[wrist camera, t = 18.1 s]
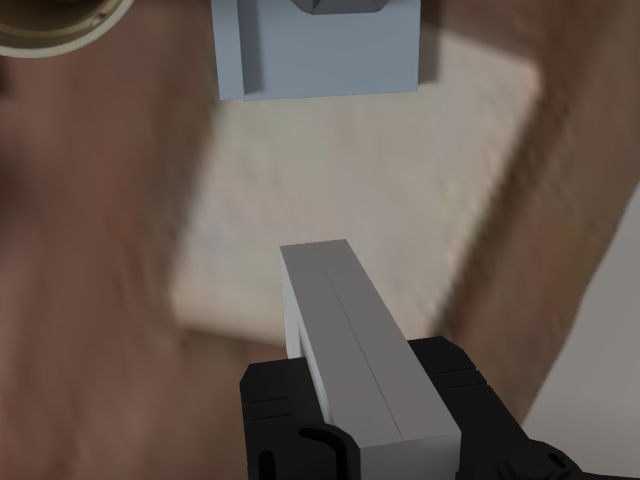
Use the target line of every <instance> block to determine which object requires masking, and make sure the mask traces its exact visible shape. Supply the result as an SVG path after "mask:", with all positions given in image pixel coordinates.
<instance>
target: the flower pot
mask: <svg viewBox="0 0 640 480" xmlns="http://www.w3.org/2000/svg"><path fill="white" fill-rule="evenodd" d="M134 1H135V0H0V55H3V56H10V57H20V58H43V57H50V56H56V55H60V54H64V53H65V54H66V53H68V52H71V51H74V50H77V49H80V48H82V47H84V46H86V45H88V44H90V43H92V42H94V41H95V40H97V39H99V38H100V37H102V36H103V35H104V34H106V33H107V32H108V31H110V30H111V29H112V28H113V27H114V26H115V25H116V24H117V23H118V22H119V21H120V20H121V19H122V18H123V17H124V15H125V14H126V13H127V12H128V11H129V9H130V8H131V6H132V5H133V3H134Z"/></svg>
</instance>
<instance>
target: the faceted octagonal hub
mask: <svg viewBox="0 0 640 480" xmlns="http://www.w3.org/2000/svg"><path fill="white" fill-rule="evenodd" d="M291 1H292V2H293V3H294V4H295V5H296V6H297V7H298V8H299V9H300V10H301V11H303V12H305V13H308V14H311V15H327V14H353V13H377V11H381V10H382V9H383V7H384V6H385V5H386V4H387V3H388V2H389V1H390V0H291Z"/></svg>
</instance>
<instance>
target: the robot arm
mask: <svg viewBox="0 0 640 480" xmlns="http://www.w3.org/2000/svg"><path fill="white" fill-rule="evenodd" d="M279 247H280V261H281V275H282V289H283V303H284V317H285V331H286V345H287V354H288V358H289V359H283V360H276V361H269V362H262V363H254V364H249V366H248V368H247V370H246V372H245V374H244V376H243V378H242V379H241V381H240V393H241V402H242V412H243V422H244V432H245V442H246V452H247V462H248V467H247V470H248V479H249V480H640V478H631V477H619V476H607V475H598V474H592V473H586V472H582V470H581V469H580V468H579V467H578V465H577V464H576V463H574V461H572V460H571V459H570V458H569V457H568V456H567V455H566V454H565V453H563V452H562V451H560V450H558V449H556V448H554V447H552V446H551V445H549V444H546V443H545V442H541V441H536V440H532V439H529V438H528V436H527V435H526V434H525V432H524V431H523V430H522V428H521V427H520V426H519V424H518V423H517V422H516V420H515V419H514V418H513V416H512V415H511V413H510V412H509V411H508V409H507V408H506V407H505V405H504V404H503V403H502V401H501V400H500V399H499V397H498V396H497V395H496V393H495V392H494V391H493V389H492V388H491V387H490V385H489V386H488V385H487V381H486V380H485V379H484V377H483V376H482V375H481V373H480V372H479V371H477V370H476V366H475V365H474V364H473V362H472V361H471V360H470V358H469V357H468V356H467V354H466V353H465V352H464V350H463V349H461V348H460V347H458V346H456V345H455V344H453V343H452V342H450V341H448V340H447V339H445V338H443V337H442V336H437V337H430V338H423V339H415V340H408V341H406V339H405V337H404V335H403V334H402V332H401V330H400V329H399V327H398V325H397V324H396V322H395V320H394V319H393V317H392V315H391V314H390V312H389V310H388V309H387V307H386V305H385V304H384V302H383V300H382V299H381V297H380V295H379V294H378V292H377V290H376V289H375V287H374V285H373V284H372V282H371V280H370V279H369V277H368V275H367V274H366V272H365V270H364V269H363V267H362V265H361V264H360V262H359V260H358V259H357V257H356V255H355V254H354V252H353V250H352V249H351V247H350V245H349V244H348V242H347V240H346V239H342V240H333V241H324V242H314V243H305V244H296V245H287V246H279Z"/></svg>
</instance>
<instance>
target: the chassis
mask: <svg viewBox="0 0 640 480" xmlns="http://www.w3.org/2000/svg"><path fill="white" fill-rule="evenodd" d="M420 5H421V0H390V1H389V2H388V3H387V4H386V5H385V6H384V7H383V9H382V10H381V11H377V13H353V14H327V15H311V14H308V13H305V12H303V11H301V10H300V9H299V8H298V7H297V6H296V5H295V4H294V3H293V2H292V1H291V0H211V7H212V18H213V29H214V39H215V50H216V61H217V72H218V82H219V93H220V100H229V99H244V101H255V100H273V99H290V98H308V97H325V96H343V95H360V94H378V93H395V92H413V91H417V90H418V62H419V34H420Z"/></svg>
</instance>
